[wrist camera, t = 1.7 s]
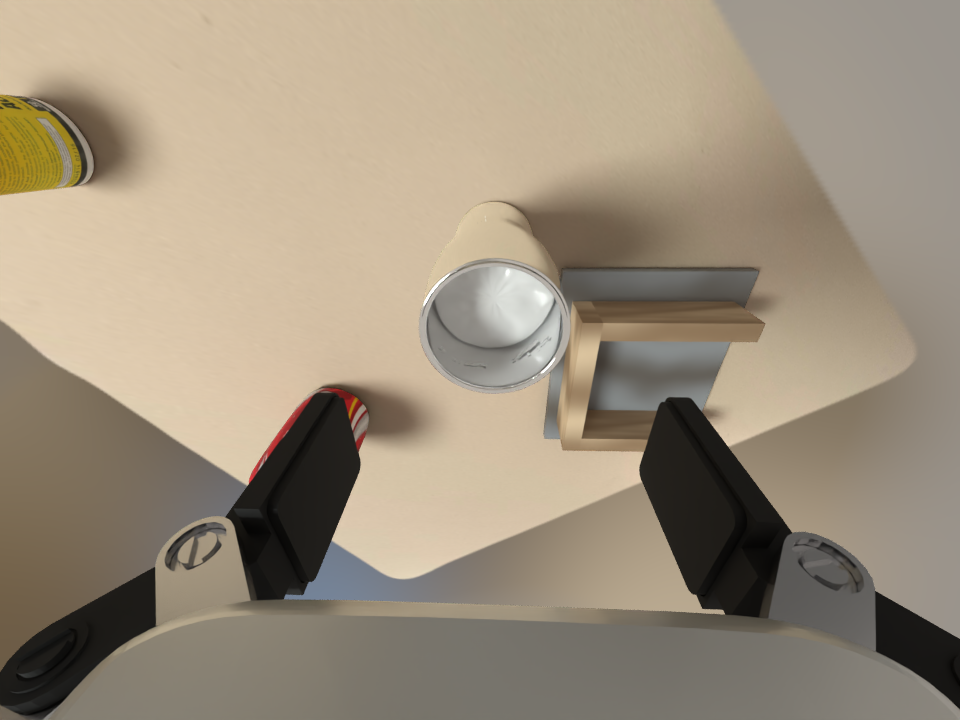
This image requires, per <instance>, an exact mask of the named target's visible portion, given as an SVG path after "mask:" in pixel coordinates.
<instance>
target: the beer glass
mask: <svg viewBox="0 0 960 720" xmlns="http://www.w3.org/2000/svg"><path fill="white" fill-rule="evenodd" d="M570 331H571V320H570V313H569V309H568V306H567V303H566V300H565V294H564V290H563V286H562V282H561V279H560V276H559V274H558V271H557V268H556V266H555V264H554V262H553V260H552V258H551V257H550V255H549V253H548V252H547V250H546V249H545V247H544V246H543V245H542V244H541V243H540V242H539V241H538V240H537V239H536V238H535V237H534V236H533V233H532V229H531V226H530V224H529V222H528V220H527V219H526V217H525V216H524V215H523V214H522V213H521V212H520V211H519V210H518V209H516V208H515V207H513V206H511V205H509V204H506V203H503V202H486V203H482V204H480V205H478V206H476V207H474V208H472V209H471V210H470V211H469V212H467V213H466V214H465V216H464V217H463V218H462V219H461V221H460V223H459V225H458V227H457V230H456V234H455V237H454V238H453V239H452V240H451V241H450V242H449V243H448V244H447V245H446V246H445V248H444V249H443V250H442V252H441V254H440V255H439V257H438V259H437V261H436V262H435V264H434V266H433V269H432V271H431V274H430V277H429V280H428V283H427V287H426V291H425V295H424V301H423V304H422V307H421V311H420V315H419V337H420V341H421V345H422V348H423V350H424V352H425V354H426V356H427V358H428V360H429V361H430V363H431V364H432V365H433V366H434V368H435V369H436V370H437V371H438V372H439V373H440V374H441V375H443V376H444V377H445V378H446V379H448V380H449V381H451V382H453V383H454V384H456V385H458V386H460V387H463V388H465V389H468V390H471V391H475V392H480V393H489V394H500V393H508V392H513V391H517V390H521V389H523V388H526V387H528V386H530V385H532V384H534V383H536V382H538V381H539V380H541V379H542V378H544V377H545V376H546V375H547V374H549V373H550V372H551V371H552V370H553V369H554V367H555V366H556V365H557V364H558V362H559V361H560V360H561V358H562V356H563V354H564V352H565V350H566V348H567V345H568V342H569V338H570Z"/></svg>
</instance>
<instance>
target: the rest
mask: <svg viewBox="0 0 960 720" xmlns="http://www.w3.org/2000/svg"><path fill="white" fill-rule="evenodd" d="M758 273H759V271H757V270H756V269H754V268H562V273H561V282H562V286H563V290H564V294H565V300H566V303H567V306H568V309H569V313H570V320H571V331H570V338H569V342H568V345H567V348H566V350H565V352H564V354H563V356H562V358H561V360H560V361H559V362H558V364H557V365H556V366H555V367H554V369H553V370H552V371H551V372H550V380H549V389H548V398H547V407H546V416H545V425H544V439H560V440H561V444H562V449H563V450H572V451H638V452H644V451H645V448H646V445H647V441H648V438H649V435H650V432H651V429H652V425H653V422H654V419H655V416H656V413H657V409H658V406H659V404H660V403H661V402H665V400H666V399H667V398H668V397H689V398H691V399H692V400H693V401H694V402H695V404H696V405H697V406H698V408H699V409H700V410H701V412H702V410H703V408H704V405H705V403H706V400H707V398H708V395H709V393H710V391H711V388H712V386H713V383H714V381H715V378H716V376H717V373H718V371H719V369H720V366H721V364H722V361H723V359H724V356H725V354H726V351H727V349H728V347H729V344H730V342H758V339H759V337H760V335H761V333H762V331H763V328H764V326H765V323H764V322H762V321H761V320H760V319H758V318H757V317H755V316H754V315H753V314H751V313H750V312H748V311H747V310H745V309H744V308H745V305H746V303H747V300H748V298H749V295H750V293H751V290H752V288H753V286H754V283H755V281H756V278H757V276H758Z"/></svg>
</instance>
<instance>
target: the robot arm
mask: <svg viewBox="0 0 960 720" xmlns="http://www.w3.org/2000/svg"><path fill="white" fill-rule="evenodd" d="M359 471H360V457H359V453H358V450H357V446H356V442H355V438H354V434H353V430H352V426H351V422H350V419H349V415H348V411H347V407H346V403H345V400H344V398H342V397H339V395H338V394H337V393H330V392H317V393H315V394H314V395H313V397H312V398H311V399H310V401H309V402H308V404H307V405H306V407H305V408H304V409H303V411H302V412H301V414H300V415H299V416H298V418H297V419H296V421H295V422H294V423H293V425H292V426H291V428H290V429H289V431H288V432H287V433H286V435H285V436H284V437H283V438H282V439H281V440H280V441H279V443H278V444H277V445H276V447H275V448H274V450H273V451H272V452H271V454H270V455H269V457H268V458H267V459H266V461H265V462H264V464H263V465H262V466H261V468H260V469H259V471H258V472H257V473H256V475H255V476H254V478H253V479H252V480H251V482H250V483H249V485H248V486H247V487H246V489H245V490H244V492H243V493H242V494H241V496H240V498H239V499H238V500H237V502H236V503H235V504H234V506H233V507H232V508H231V510H230V511H229V513H228V514H227V516H226V517H219V516H214V517H208V518H204V519H201V520H198V521H196V522H193V523H192V524H190V525H188V526H186V527H184V528H183V529H181V530H180V531H179V532H178V533H176V534H175V535H174V536H172V537H171V538H170V540H169V541H168V542H167V543H166V544H165V545H164V546H163V548H162V549H161V551H160V553H159V555H158V556H157V560H156V565H155V567H154V568H152V569H150V570H148V571H147V572H145V573H143V574H141V575H139V576H138V577H136V578H134V579H132V580H130V581H129V582H127V583H125V584H123V585H121V586H119V587H118V588H116V589H114V590H112V591H110V592H109V593H107V594H105V595H103V596H102V597H100V598H98V599H96V600H94V601H92V602H90V603H89V604H87V605H85V606H83V607H82V608H80V609H78V610H76V611H74V612H72V613H71V614H69V615H67V616H65V617H63V618H62V619H60V620H58V621H56V622H55V623H53V624H51V625H49V626H48V627H46V628H45V629H43V630H42V631H40V632H39V633H37V634H36V635H35V636H33V637H32V638H31V639H30V640H29V641H27V642H26V643H25V644H24V645H23V646H22V647H20V649H19V650H18V651H17V652H16V653H15V654H14V655H13V656H12V657H11V658H10V659H9V660H8V661H7V663H6V665H5V666H4V667H3V669H2V670H1V672H0V720H960V639H959V638H957V637H955V636H953V635H952V634H950V633H948V632H946V631H945V630H943V629H941V628H939V627H938V626H936V625H934V624H932V623H931V622H929V621H927V620H925V619H924V618H922V617H920V616H918V615H917V614H915V613H913V612H911V611H910V610H908V609H906V608H904V607H903V606H901V605H899V604H897V603H895V602H894V601H892V600H890V599H888V598H887V597H885V596H883V595H881V594H880V593H878V592H876V591H875V587H874V583H873V580H872V577H871V576H870V574H869V573H868V571H867V569H866V568H865V567H864V566H863V565H862V564H861V563H860V562H859V560H858V559H857V558H856V557H855V556H853V555H852V554H851V553H849V552H848V551H847V550H846V549H844V548H843V547H841V546H840V545H838V544H836V543H834V542H832V541H831V540H829V539H826V538H824V537H822V536H819V535H817V534H812V533H807V532H794V533H792V532H791V530H790V529H789V528H788V526H787V525H786V524H785V522H784V521H783V519H782V518H781V517H780V516H779V514H778V513H777V511H776V510H775V509H774V507H773V506H772V505H771V503H770V502H769V501H768V499H767V498H766V497H765V495H764V494H763V493H762V491H761V490H760V489H759V487H758V486H757V485H756V483H755V482H754V481H753V479H752V478H751V477H750V475H749V474H748V473H747V471H746V470H745V469H744V468H743V466H742V465H741V463H740V462H739V461H738V460H737V458H736V457H735V455H734V454H733V453H732V451H731V450H730V449H729V447H728V446H727V445H726V443H725V442H724V441H723V439H722V438H721V437H720V435H719V434H718V433H717V432H716V430H715V429H714V428H713V426H712V425H711V424H710V422H709V421H708V420H707V418H706V417H705V416H704V414H703V413H702V412H701V410H700V409H699V408H698V406H697V405H696V404H695V402H694V401H693V400H692V399H691V398H689V397H668V398H667V399H666V400H665V402H661V403H660V404H659V406H658V409H657V413H656V416H655V419H654V422H653V425H652V429H651V432H650V435H649V438H648V441H647V445H646V448H645V451H644V454H643V457H642V461H641V464H640V469H639V471H640V477H641V480H642V482H643V484H644V487H645V489H646V491H647V494H648V496H649V499H650V501H651V503H652V506H653V508H654V510H655V513H656V515H657V517H658V520H659V522H660V525H661V527H662V529H663V532H664V534H665V536H666V539H667V541H668V543H669V545H670V548H671V550H672V553H673V555H674V557H675V560H676V562H677V564H678V566H679V569H680V571H681V574H682V576H683V578H684V581H685V583H686V585H687V587H688V589H689V591H690V592H691V593H692V594H695V595H697V597H698V600H699V602H700V604H701V607H702V609H721V610H724V613H725V615H720V614H702V613H686V612H668V611H643V610H642V611H641V610H617V609H594V608H569V607H542V606H513V605H485V604H484V605H483V604H456V603H455V604H454V603H424V602H423V603H421V602H389V601H357V600H284V597H285V595H286V594H289V595H290V594H291V595H303V594H304V591H305V589H306V587H307V584H308V582H312V581H314V579H315V578H316V576H317V574H318V572H319V569H320V567H321V564H322V562H323V559H324V557H325V554H326V552H327V550H328V547H329V545H330V542H331V540H332V537H333V535H334V533H335V530H336V528H337V525H338V523H339V520H340V518H341V515H342V513H343V510H344V508H345V506H346V503H347V501H348V498H349V496H350V493H351V491H352V488H353V486H354V484H355V481H356V479H357V476H358V474H359Z"/></svg>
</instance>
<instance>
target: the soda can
mask: <svg viewBox="0 0 960 720" xmlns="http://www.w3.org/2000/svg"><path fill="white" fill-rule="evenodd" d="M317 392H330V393H337V394H338V395H339V397H342V398H344V400H345V403H346V407H347V411H348V415H349V419H350V422H351V426H352V430H353V434H354V438H355V442H356V446H357V450H358V452H359V449H360V447H361V444H362V442H363V439H364V437H365V434H366V430H367V427H368V423H369V415H368V411H367V409H366V407H365V406H364V405H363V403H362V402H361V401H360V400H359V399H358V398H356V397H355V396H353V395H352V394H350V393H348V392H346V391H343V390H340V389H335V388H322V389H318V390H315V391H313V392H311V393H310V394H309V395H308V396H307V397H306V398H305V399H304V400H303V401H302V402H301V403H300V404H299V405H298V407H297V408H296V409H295V411H294V412H293V413H292V415H291V416H290V417H289V419H288V420H287V422H286V423H285V424H284V426H283V427H282V429H281V430H280V431H279V433H278V434H277V436H276V437H275V438H274V440H273V441H272V443H271V444H270V445H269V447H268V448H267V450H266V451H265V453H264V454H263V456H262V457H261V459H260V460H259V462H258V463H257V465H256V467H255V468H254V470H253V471H252V474H251V476H250V478H249V483H250V482H251V480H252V479H253V478H254V476H255V475H256V473H257V472H258V471H259V469H260V468H261V466H262V465H263V464H264V462H265V461H266V459H267V458H268V457H269V455H270V454H271V452H272V451H273V450H274V448H275V447H276V445H277V444H278V443H279V441H280V440H281V439H282V438H283V437H284V436H285V435H286V433H287V432H288V431H289V429H290V428H291V426H292V425H293V423H294V422H295V421H296V419H297V418H298V416H299V415H300V414H301V412H302V411H303V409H304V408H305V407H306V405H307V404H308V402H309V401H310V399H311V398H312V397H313V395H314V394H315V393H317Z"/></svg>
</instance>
